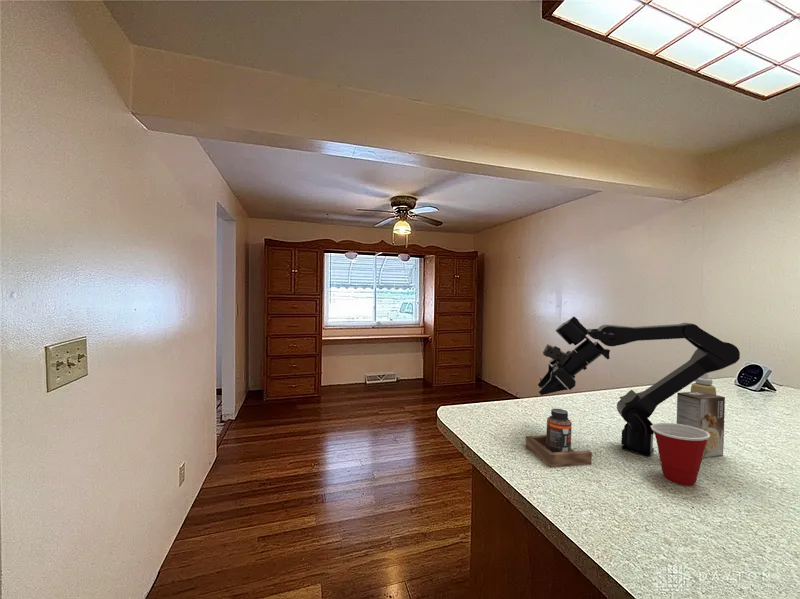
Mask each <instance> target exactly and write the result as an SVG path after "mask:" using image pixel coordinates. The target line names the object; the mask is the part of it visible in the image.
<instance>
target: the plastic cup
mask: <svg viewBox="0 0 800 599" xmlns="http://www.w3.org/2000/svg"><path fill="white" fill-rule="evenodd" d="M651 428H652V430H653V431H654V434H653V435H654V436H655V439H656V445H657V450H658V456H659V461H660V465H661V466H660V467H661V472H662V475H663V478H664V479H666V480H667V481H668V482H671V483H673V484H676V485H678V486H682V487H693V486H694V485H695V483H696V482H697V478H698V474H699V472H700V469H701V465H702V462H703V461H702V460H703V458H702V457H703V453H704V449H705V447H706V444H707V440H708V439H709V437H710V434H709V433H708V432H706V431H704V430H702V429H699V428H696V427H692V426H687V425H682V424H677V423H673V422H657V423H653V425H651Z"/></svg>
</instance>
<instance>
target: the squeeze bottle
mask: <svg viewBox="0 0 800 599" xmlns="http://www.w3.org/2000/svg"><path fill="white" fill-rule="evenodd" d="M698 391H701V392H705V393H710V394H714V395H717V390H716V386H715V385H713V380H712V379H711V378H709V375H708V373H706V374H704V375H703V376H701V377H700V378H698V379H697V380H695V381H694V382H692V383H691V387H690V391H689V392H698Z"/></svg>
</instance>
